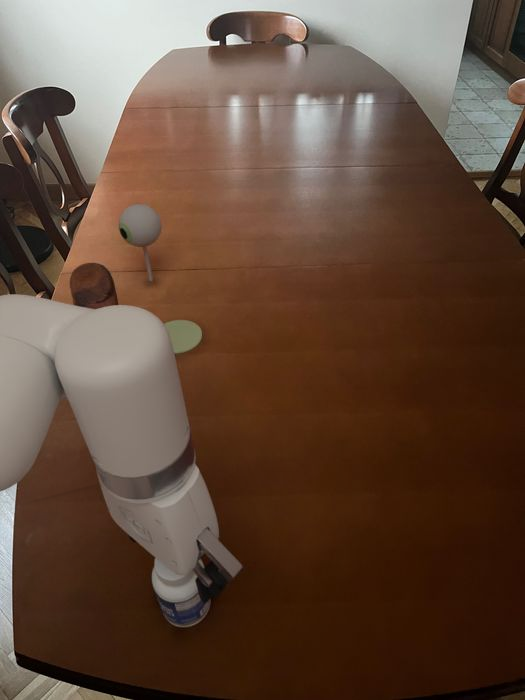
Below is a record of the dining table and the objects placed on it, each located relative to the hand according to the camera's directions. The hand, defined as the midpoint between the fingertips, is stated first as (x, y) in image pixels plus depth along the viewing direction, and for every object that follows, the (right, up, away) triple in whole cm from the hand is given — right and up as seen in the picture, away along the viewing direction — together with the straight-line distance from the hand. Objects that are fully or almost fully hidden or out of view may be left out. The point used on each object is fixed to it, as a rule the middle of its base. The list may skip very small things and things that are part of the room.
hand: (178, 558), depth 57 cm
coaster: (-6, +22, +39) cm, 45 cm away
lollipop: (-12, +33, +50) cm, 61 cm away
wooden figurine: (-15, +17, +34) cm, 41 cm away
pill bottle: (0, -7, +7) cm, 10 cm away
